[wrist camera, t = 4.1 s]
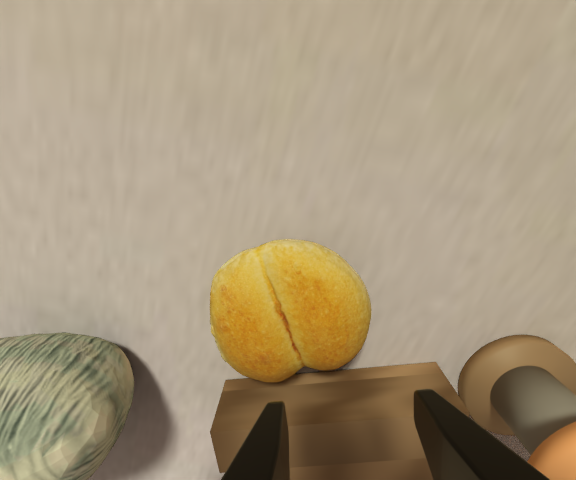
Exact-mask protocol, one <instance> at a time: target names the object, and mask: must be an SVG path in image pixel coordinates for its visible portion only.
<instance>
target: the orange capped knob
mask: <svg viewBox="0 0 576 480" xmlns="http://www.w3.org/2000/svg"><path fill="white" fill-rule="evenodd" d="M458 392H459V396H460V399H461V400H462V402H463V403H464V405H465V406H466V408H467V409H468V411H469V412H470V413H469V414H470V415H471V417H472V418H473V419H474V420H475V422H476V423H477V424H479V425H480V426H481V427H483V428H484V429H486V430H488V431H491V432H493V433H497V434H502V435H516V437H517V438H518V439H519V440H520V442H521V443H522V444H523V446H524V447H525V448H526V449H527V451H528V452H529V453H530V454H531V456H530V458H529V460H528V461H527V462H528V463H529V464H531V465H532V466H533V467H534V468H536V469H537V470H538V471H540V472H541V473H542V474H544V475H545V476H546V477H547V478H549V479H550V480H576V364H575V362H574V361H573V359H572V358H571V357H570V356H569V355H567V354H566V353H564V352H563V351H562V350H560V349H559V348H558V347H556V346H555V345H554V344H552V343H551V342H549V341H547V340H545V339H543V338H540V337H537V336H532V335H513V336H508V337H504V338H500V339H498V340H495V341H493V342H491V343H489V344H487V345H485V346H484V347H482V348H481V349H479V350H478V351H477V352H475V353H474V354H473V355H472V356H471V357H470V359H469V360H468V361H467V362H466V364H465V366H464V367H463V369H462V371H461V374H460V377H459V382H458Z"/></svg>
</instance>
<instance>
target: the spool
mask: <svg viewBox="0 0 576 480" xmlns="http://www.w3.org/2000/svg"><path fill="white" fill-rule="evenodd" d="M133 392H134V378H133V373H132V369H131V366H130V363H129V360H128V359H127V357H126V355H125V354H124V352H123V351H122V350H121V349H120V348H119V347H118V346H117V345H116V344H114V343H111V342H109V341H106V340H104V339H101V338H98V337H92V336H86V335H78V334H71V333H52V334H31V335H25V336H17V337H7V338H0V480H87V479H88V478H89V477H90V476H91V475H92V474H93V473H94V472H95V471H96V470H97V469H98V467H99V466H100V465H101V464H102V462H103V461H104V459H105V458H106V456H107V454H108V453H109V451H110V450H111V448H112V447H113V445H114V444H115V442H116V440H117V438H118V437H119V435H120V433H121V431H122V429H123V427H124V424H125V421H126V418H127V414H128V412H129V410H130V407H131V404H132V399H133Z"/></svg>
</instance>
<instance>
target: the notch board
mask: <svg viewBox="0 0 576 480" xmlns="http://www.w3.org/2000/svg"><path fill="white" fill-rule="evenodd" d="M418 389H432V390H434V391H436V392H437V393H438V394H440V395H441V396H442V397H443V398H445V399H446V400H447V401H449V402H450V403H451V404H453V405H454V406H455V407H456V408H458V409H459V410H460V411H462V412H463V413H464V414H466V415H467V416H468V417H469V413H470V412H469V411H468V409H467V408H466V406H465V405H464V403H463V402H462V400H461V399H460V397H459V396H458V394H457V393H456V391H455V390H454V388H453V387H452V385H451V384H450V382H449V381H448V379H447V378H446V376H445V375H444V373H443V372H442V371H441V369H440V368H439V366H438V365H437V363H436V362H430V363H418V364H407V365H395V366H384V367H372V368H360V369H349V370H337V371H326V372H314V373H302V374H294V375H292V376H291V377H289V378H287V379H285V380H283V381H280V382H263V381H259V380H255V379H252V378H244V379H233V380H226V381H225V384H224V387H223V391H222V394H221V397H220V401H219V404H218V407H217V411H216V414H215V418H214V421H213V424H212V428H211V431H210V434H211V438H212V442H213V446H214V451H215V455H216V459H217V463H218V467H219V471H220V473H223V472H226V470H227V469H228V467H229V465H230V464H231V462H232V460H233V459H234V457H235V456H236V454H237V452H238V451H239V449H240V447H241V446H242V444H243V442H244V441H245V439H246V437H247V436H248V434H249V432H250V431H251V429H252V427H253V426H254V424H255V422H256V421H257V419H258V417H259V416H260V414H261V412H262V411H263V409H264V407H265V406H266V404H267V403H268V402H273V401H283V402H284V404H285V410H286V416H287V423H288V431H289V465H290V480H433V477H432V474H431V471H430V468H429V465H428V462H427V459H426V456H425V453H424V450H423V447H422V444H421V441H420V438H419V435H418V432H417V429H416V426H415V422H414V391H415V390H418Z"/></svg>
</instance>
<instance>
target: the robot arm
mask: <svg viewBox="0 0 576 480" xmlns="http://www.w3.org/2000/svg"><path fill="white" fill-rule="evenodd" d="M414 422H415V426H416V429H417V432H418V435H419V438H420V441H421V444H422V447H423V450H424V453H425V456H426V459H427V462H428V465H429V468H430V471H431V474H432V477H433V480H550V479H549V478H547V477H546V476H545V475H544V474H542V473H541V472H540V471H538V470H537V469H536V468H534V467H533V466H532V465H531V464H529V463H528V462H527V461H525V460H524V459H523V458H521V457H520V456H519V455H518V454H516V453H515V452H514V451H512V450H511V449H510V448H508V447H507V446H506V445H505V444H503V443H502V442H501V441H499V440H498V439H497V438H495V437H494V436H493V435H492V434H490V433H489V432H488V431H486V430H485V429H484V428H482V427H481V426H480V425H479V424H477V423H476V422H475V421H473V420H472V419H471V418H469V417H468V416H467V415H466V414H464V413H463V412H462V411H460V410H459V409H458V408H456V407H455V406H454V405H453V404H451V403H450V402H449V401H447V400H446V399H445V398H443V397H442V396H441V395H440V394H438V393H437V392H436V391H434V390H432V389H418V390H415V391H414ZM221 480H290V465H289V431H288V423H287V416H286V410H285V404H284V402H283V401H273V402H268V403H267V404H266V406H265V407H264V409H263V411H262V412H261V414H260V416H259V417H258V419H257V421H256V422H255V424H254V426H253V427H252V429H251V431H250V432H249V434H248V436H247V437H246V439H245V441H244V442H243V444H242V446H241V447H240V449H239V451H238V452H237V454H236V456H235V457H234V459H233V460H232V462H231V464H230V465H229V467H228V469H227V470H226V472H225V474H224V475H223V477H222V479H221Z"/></svg>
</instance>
